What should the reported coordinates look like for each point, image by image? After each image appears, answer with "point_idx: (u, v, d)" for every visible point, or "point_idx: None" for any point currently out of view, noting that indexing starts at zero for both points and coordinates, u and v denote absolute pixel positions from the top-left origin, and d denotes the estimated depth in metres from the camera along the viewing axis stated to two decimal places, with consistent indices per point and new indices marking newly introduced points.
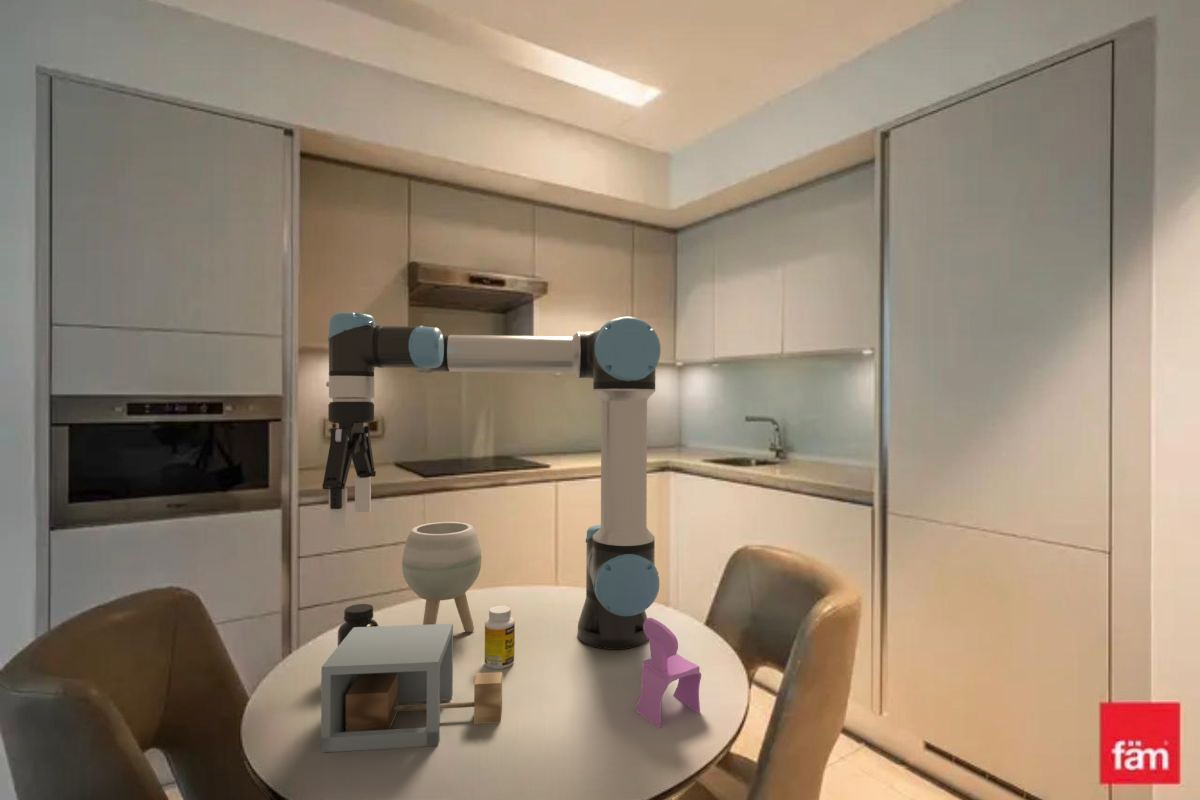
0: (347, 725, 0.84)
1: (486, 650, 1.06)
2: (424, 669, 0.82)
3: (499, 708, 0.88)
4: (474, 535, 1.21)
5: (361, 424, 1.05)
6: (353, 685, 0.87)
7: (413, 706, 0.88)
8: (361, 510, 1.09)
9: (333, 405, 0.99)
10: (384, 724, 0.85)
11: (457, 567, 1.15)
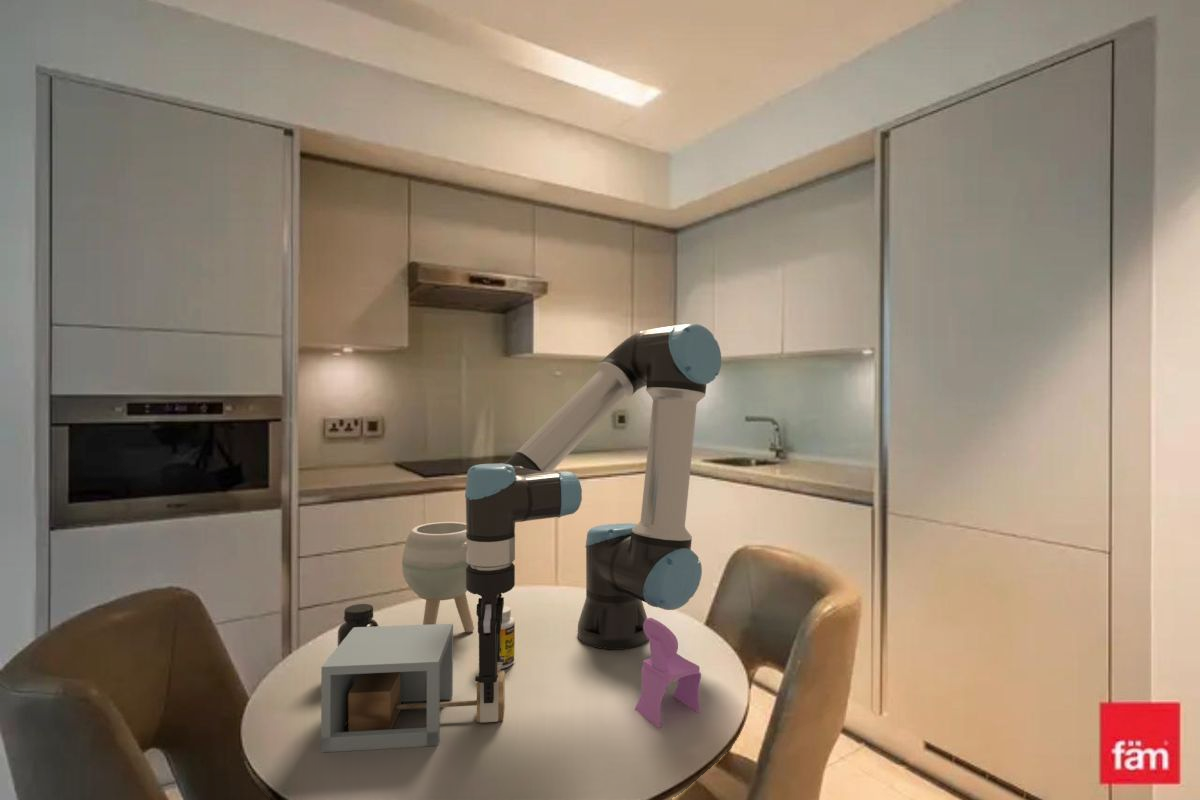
0: (350, 724, 0.85)
1: None
2: (424, 669, 0.82)
3: (501, 707, 0.88)
4: None
5: None
6: (356, 684, 0.87)
7: (416, 705, 0.88)
8: None
9: (475, 575, 0.86)
10: (387, 723, 0.85)
11: (457, 567, 1.15)
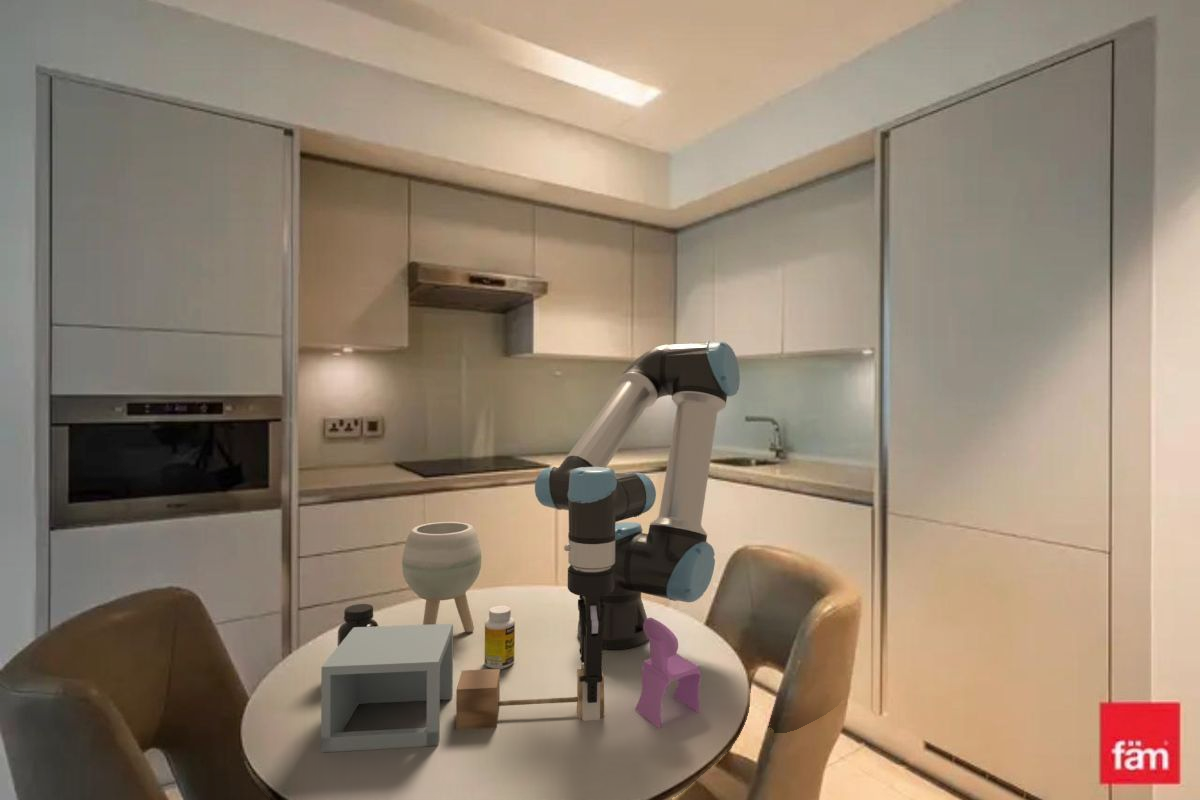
0: (458, 719, 0.86)
1: (486, 650, 1.06)
2: (424, 669, 0.82)
3: (603, 703, 0.90)
4: (474, 535, 1.21)
5: None
6: (460, 680, 0.89)
7: (518, 701, 0.90)
8: None
9: (579, 577, 0.88)
10: (494, 718, 0.87)
11: (457, 567, 1.15)
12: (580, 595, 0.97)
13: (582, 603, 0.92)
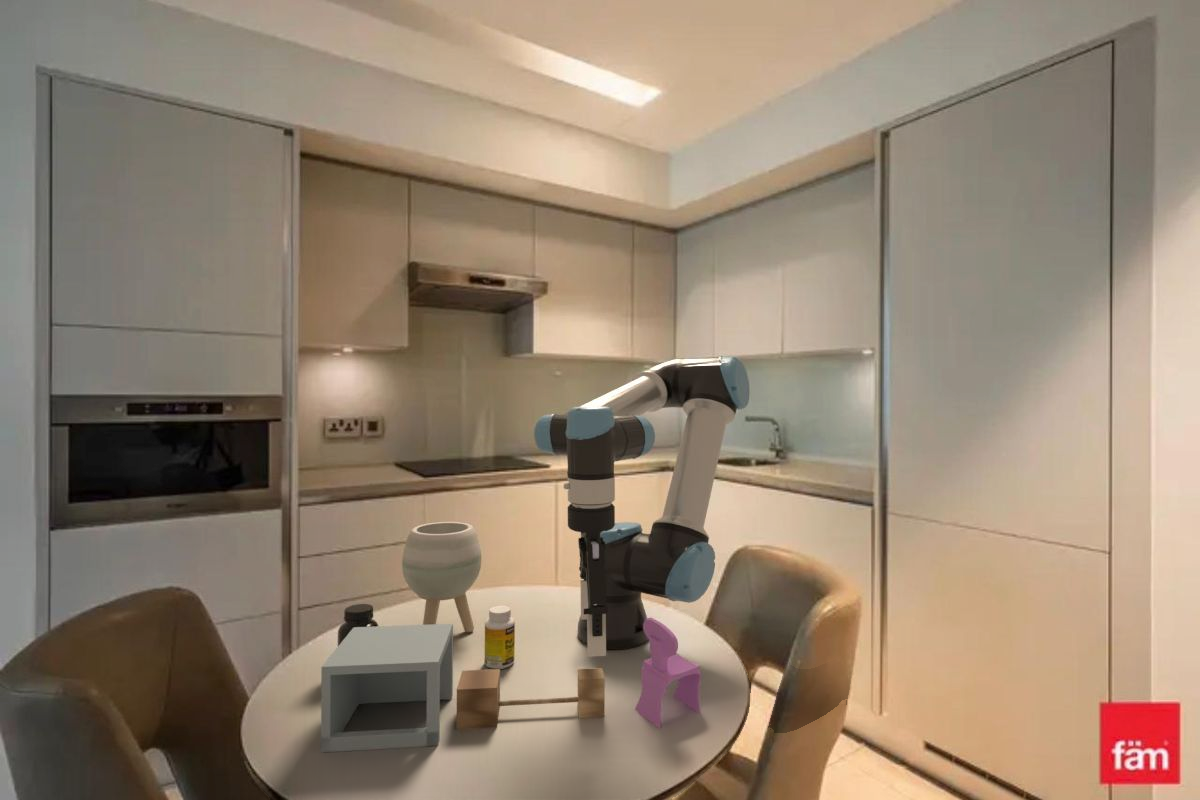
0: (458, 719, 0.86)
1: (486, 650, 1.06)
2: (424, 669, 0.82)
3: (603, 703, 0.90)
4: (474, 535, 1.21)
5: None
6: (461, 680, 0.89)
7: (518, 701, 0.90)
8: None
9: (579, 513, 0.88)
10: (494, 719, 0.87)
11: (457, 567, 1.15)
12: None
13: None
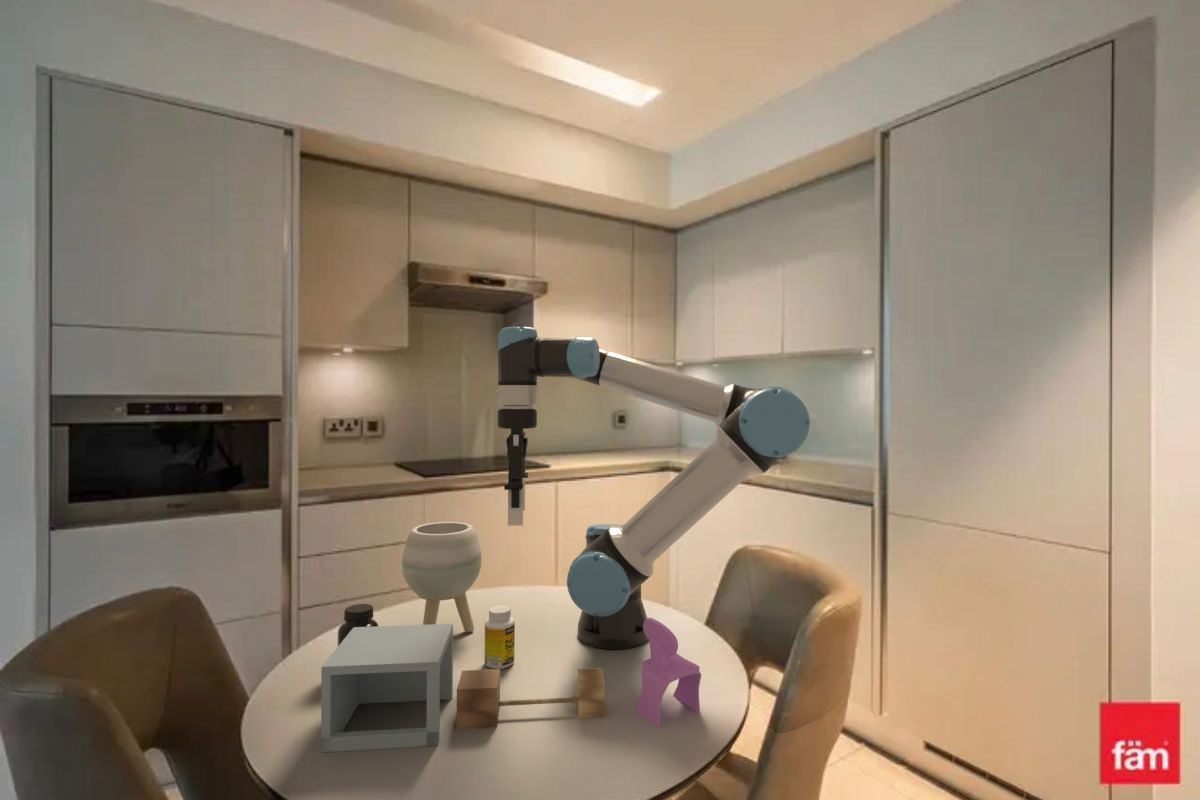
0: (458, 719, 0.86)
1: (486, 650, 1.06)
2: (424, 669, 0.82)
3: (603, 703, 0.90)
4: (474, 535, 1.21)
5: None
6: (461, 680, 0.89)
7: (518, 701, 0.90)
8: None
9: (505, 412, 1.07)
10: (494, 719, 0.87)
11: (457, 567, 1.15)
12: None
13: None
